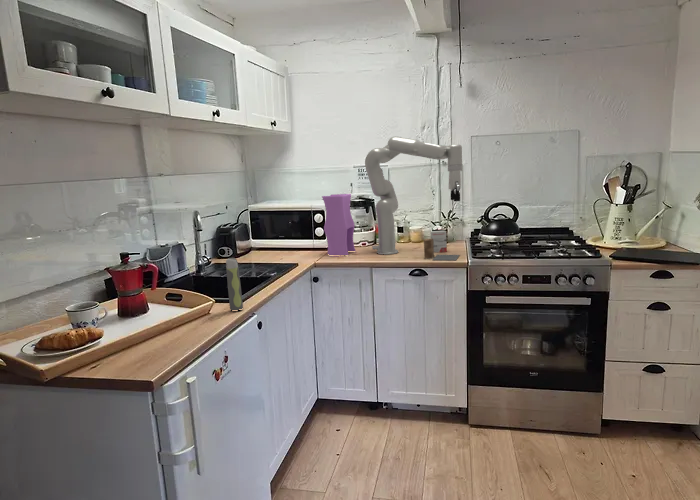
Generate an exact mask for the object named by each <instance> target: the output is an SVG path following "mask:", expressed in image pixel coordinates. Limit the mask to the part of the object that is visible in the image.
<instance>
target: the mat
mask: <svg viewBox="0 0 700 500" xmlns="http://www.w3.org/2000/svg"><path fill="white" fill-rule="evenodd" d="M459 257H460V254H436V255H434V257H433V258H432V261H437V262H438V261H446V262H447V261H449V262H451V261H454V262H455V261H457V259H458V258H459Z"/></svg>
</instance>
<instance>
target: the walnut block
mask: <svg viewBox="0 0 700 500" xmlns="http://www.w3.org/2000/svg"><path fill="white" fill-rule="evenodd" d="M423 252H424V253H423V254H424V259H425V260H433V259H434V257H435V252H434V240H433V239H431V238H424V239H423Z"/></svg>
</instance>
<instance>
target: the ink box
mask: <svg viewBox="0 0 700 500" xmlns="http://www.w3.org/2000/svg"><path fill="white" fill-rule="evenodd" d="M430 239H433V240H434V253H447V251H448V248H447V247H448V246H447V245H448V244H447V241H448V239H447V231H446V230H431V231H430Z"/></svg>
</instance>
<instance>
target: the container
mask: <svg viewBox="0 0 700 500" xmlns="http://www.w3.org/2000/svg"><path fill="white" fill-rule="evenodd" d="M321 198H322V200H323V203H324V207H325V211H326V213H325V214H326V215H325V221H324V226H323V230H324V234H325V237H326V240H327V254H329V255H349V254H350V253H348V251H356V247H355V243H354V232H355V222H354V219H353V217H352V212H351V199H352V193H340V194H338V193H337V194H330V195H322V196H321ZM356 252H357V251H356ZM349 256H350V255H349Z"/></svg>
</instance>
